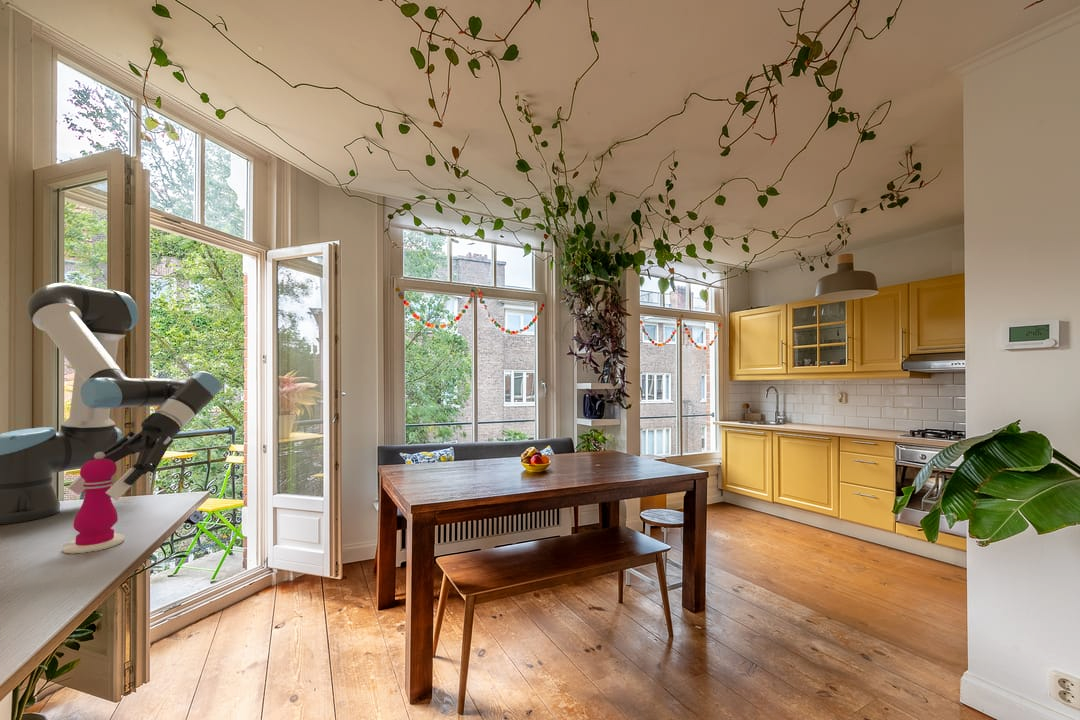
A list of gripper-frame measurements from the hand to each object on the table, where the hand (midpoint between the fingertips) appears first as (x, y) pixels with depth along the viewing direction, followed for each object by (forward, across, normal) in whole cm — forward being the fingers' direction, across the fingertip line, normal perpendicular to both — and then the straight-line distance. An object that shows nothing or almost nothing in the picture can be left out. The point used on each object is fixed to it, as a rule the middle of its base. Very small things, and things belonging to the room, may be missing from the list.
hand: (91, 493), depth 102 cm
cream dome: (+8, 0, -9) cm, 12 cm away
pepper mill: (+7, 0, -9) cm, 11 cm away
